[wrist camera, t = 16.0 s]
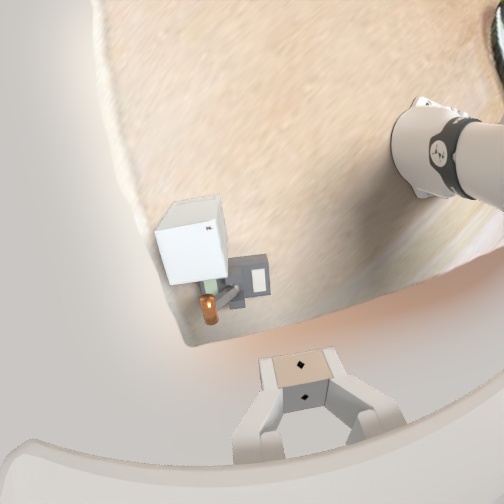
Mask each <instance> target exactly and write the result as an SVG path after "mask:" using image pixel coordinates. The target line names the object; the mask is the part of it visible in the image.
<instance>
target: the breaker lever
mask: <svg viewBox="0 0 504 504" xmlns="http://www.w3.org/2000/svg"><path fill="white" fill-rule="evenodd" d="M239 295H240V291H239V284H234V285H229V286H228V287H227V288H225V289H224V290H223V291H222V292H220V293H219V294H218V295H216V296H215V297H214V295H213V294H204V295H202V296H200V298H199V299H200V304H201V308H202V312H203V316H204V320H205V323H206V324H207V325H214V324H216V323H217V322H218V321H219V319H218V314H217V311H218V310H220V309H221V308H222V307H223V306H224V305H226V304H227V303H228V302H229V301H230V300H232V299H233V298H234V297H235V296H239Z"/></svg>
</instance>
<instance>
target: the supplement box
mask: <svg viewBox="0 0 504 504" xmlns="http://www.w3.org/2000/svg"><path fill="white" fill-rule="evenodd" d="M154 234H155V238H156V241H157V245H158V249H159V252H160V255H161V259H162V262H163V265H164V269H165V272H166V275H167V278H168V281H169V284H170V286H172V285H178V284H185V283H192V282H198V281H206V280H213V279H221V278H227V277H228V249H227V231H226V224H225V218H224V213H223V208H222V203H221V198H220V194H214V195H208V196H202V197H197V198H192V199H186V200H181V201H176V202H173V204H172V205H171V207H170V208H169V210H168V211H167V213H166V214H165V216H164V217H163V219H162V220H161V222H160V224H159V225H158V227H157V228H156V230H155V231H154Z"/></svg>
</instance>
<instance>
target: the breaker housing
mask: <svg viewBox="0 0 504 504" xmlns="http://www.w3.org/2000/svg"><path fill="white" fill-rule="evenodd" d="M199 283H200V288H201V293H202V295H204V294H213V295H214V297H215V296H216V295H218V294H219V293H220V292H222V291H223V290H224V289H225V288H227V287H228V286H229V285H234V284H239V291H240V295H239V296H235V297H234V298H233V299H232V300H230V301H229V307H230V309H238V308H245V299H244V298H249V297H257V296H265V295H271V293H270V279H269V264H268V259H267V256H266V254H260V255H252V256H244V257H236V258H228V277H227V278H221V279H213V280H206V281H199Z"/></svg>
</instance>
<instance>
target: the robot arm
mask: <svg viewBox="0 0 504 504" xmlns="http://www.w3.org/2000/svg"><path fill="white" fill-rule="evenodd" d="M426 104H427V105H426ZM391 146H392V155H393V159H394V162H395V165H396V167H397V169H398V171H399V173H400V174H401V175H402V177H403V178H404V179H405V180H406V181H408V182H409V183H410V184H411V186H412V188H413V190H414V192H415V194H416V196H417V197H418V198H422V199H423V198H427V197H430V196H434V195H436V196H439V197H442V198H445V199H448V198H449V197H452V196H454V195H459V196H461V197H463V198H467V199H471V200H479V201H481V202H484V203H486V204H488V205H490V206H492V207H495V208H497V209H499V210H501V211H503V212H504V124H491V123H483V122H482V121H480V120H478V119H474V118H471V117H468V114H467V113H466V112H463V111H457V109H455V108H449V107H444V106H441V105H440V104H438V103H436V102H434V101H432V100H429V99H427V98H425V97H423V96H418V97H416V99H415V100H414V102H413V104H412V106H411V108H410V109H408V110H407V111H406V112H404V113H403V114H402V115H401V116H400V117H399V119H398V120H397V122H396V124H395V127H394V129H393V133H392V142H391ZM259 369H260V379H261V387H262V391H259V393H258V394H257V396H256V398H255V399H254V401H253V403H252V404H251V406H250V407H249V409H248V411H247V412H246V414H245V415H244V417H243V419H242V420H241V422H240V423H239V425H238V426H237V428H236V429H235V431H234V433H233V434H232V445H233V462H234V465H225V466H172V465H157V464H146V463H137V462H130V461H122V460H116V459H110V458H104V457H100V456H95V455H90V454H86V453H82V452H78V451H74V450H70V449H66V448H62V447H59V446H56V445H53V444H50V443H47V442H44V441H41V440H38V439H30V440H28V441H26V442H24V443H23V444H21V445H20V446H18V447H17V448H16V449H14V450H13V451H12V452H10V453H9V454H8V455H7V457H6V458H5V460H4V462H3V464H2V466H1V469H0V504H504V370H503V371H501V372H500V373H499V374H497V375H496V376H494V377H493V378H491V379H490V380H488V381H487V382H485V383H484V384H482V385H481V386H479V387H478V388H476V389H474V390H473V391H471V392H469V393H468V394H466V395H464V396H463V397H461V398H459V399H458V400H456V401H454V402H452V403H450V404H448V405H446V406H445V407H443V408H441V409H439V410H437V411H435V412H433V413H431V414H429V415H426V416H424V417H422V418H420V419H418V420H416V421H413V422H411V423H409V424H407V423H406V421H405V419H404V417H403V415H402V413H401V411H400V409H399V407H398V405H397V403H396V401H395V400H394V399H392V398H390V397H389V396H387V395H385V394H383V393H382V392H380V391H378V390H376V389H375V388H373V387H371V386H369V385H368V384H366V383H364V382H363V381H361V380H359V379H358V378H356V377H354V376H352V375H351V374H349V375H347V374H346V372H345V370H344V368H343V366H342V363H341V361H340V359H339V357H338V355H337V352H336V351H335V348H334V347H333V346H331V347H326V348H321V349H315V350H311V351H305V352H300V353H296V354H289V355H282V356H274V357H267V358H259ZM320 406H325V407H326V408H327V409H328V410H329V411H330V412H331V413H333V414H334V415H335V416H336V417H337V418H339V419H340V420H341V421H343V422H344V423H345V424H346V425H348V426H349V427H350V428H351V429H352V431H351V433H350V435H349V437H348V439H347V441H346V446H343V447H339V448H335V449H332V450H328V451H323V452H319V453H315V454H310V455H305V456H300V457H295V458H289V459H285V454H284V449H283V444H282V439H281V434H280V433H279V432H277V431H276V429H277V427H278V425H279V423H280V421H281V418H282V416H283V413H289V412H294V411H299V410H304V409H309V408H315V407H320Z"/></svg>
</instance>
